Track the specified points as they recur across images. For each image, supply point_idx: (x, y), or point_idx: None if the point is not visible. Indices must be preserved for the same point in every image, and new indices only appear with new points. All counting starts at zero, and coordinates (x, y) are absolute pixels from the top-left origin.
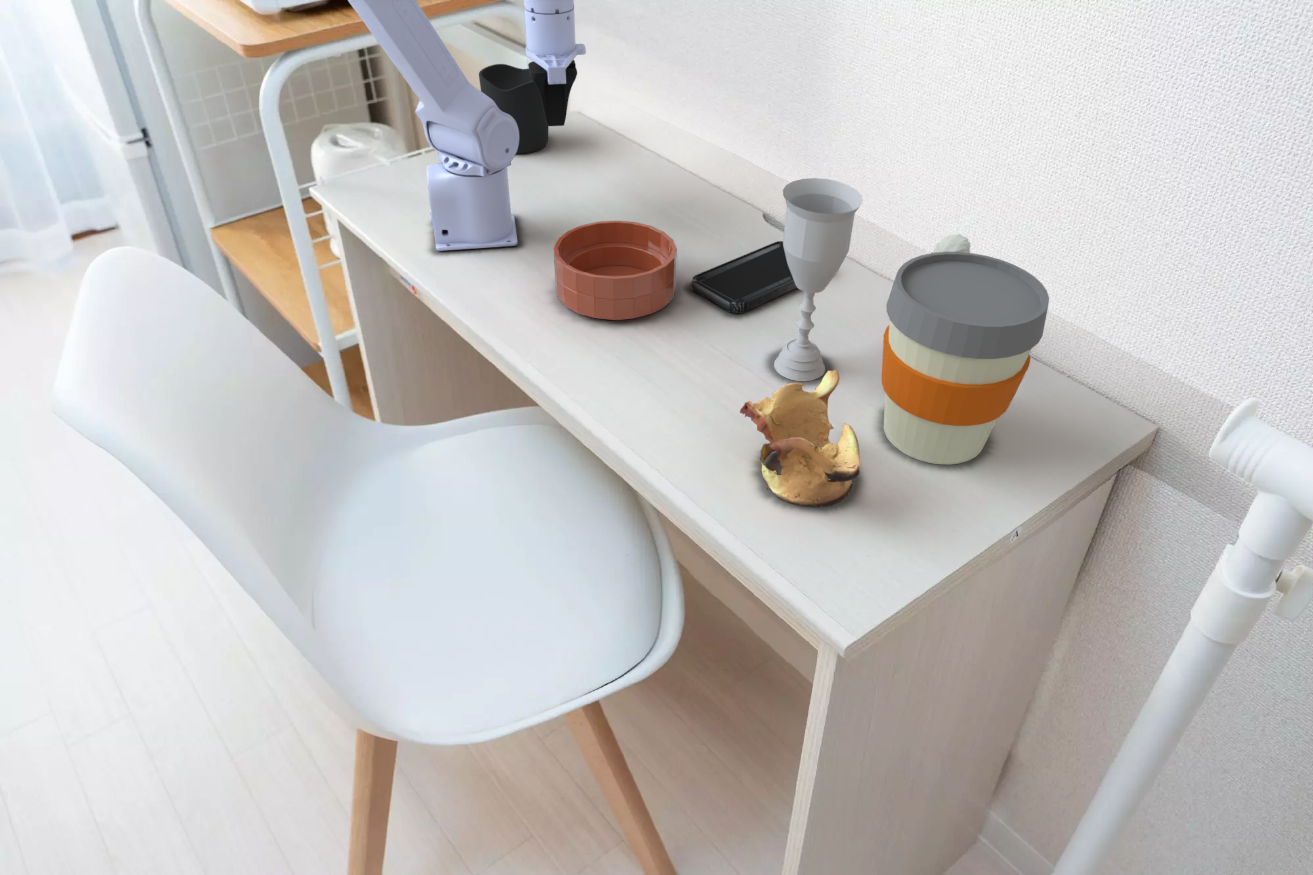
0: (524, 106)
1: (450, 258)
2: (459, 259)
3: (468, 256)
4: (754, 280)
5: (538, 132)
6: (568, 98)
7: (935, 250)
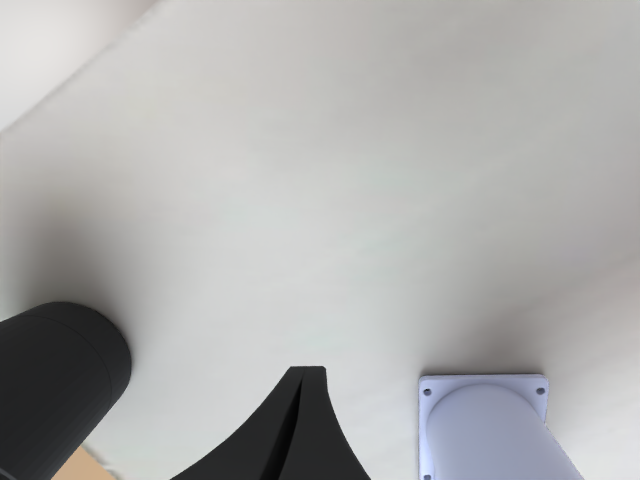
0: (49, 412)
1: None
2: None
3: None
4: None
5: (82, 339)
6: (336, 426)
7: None
